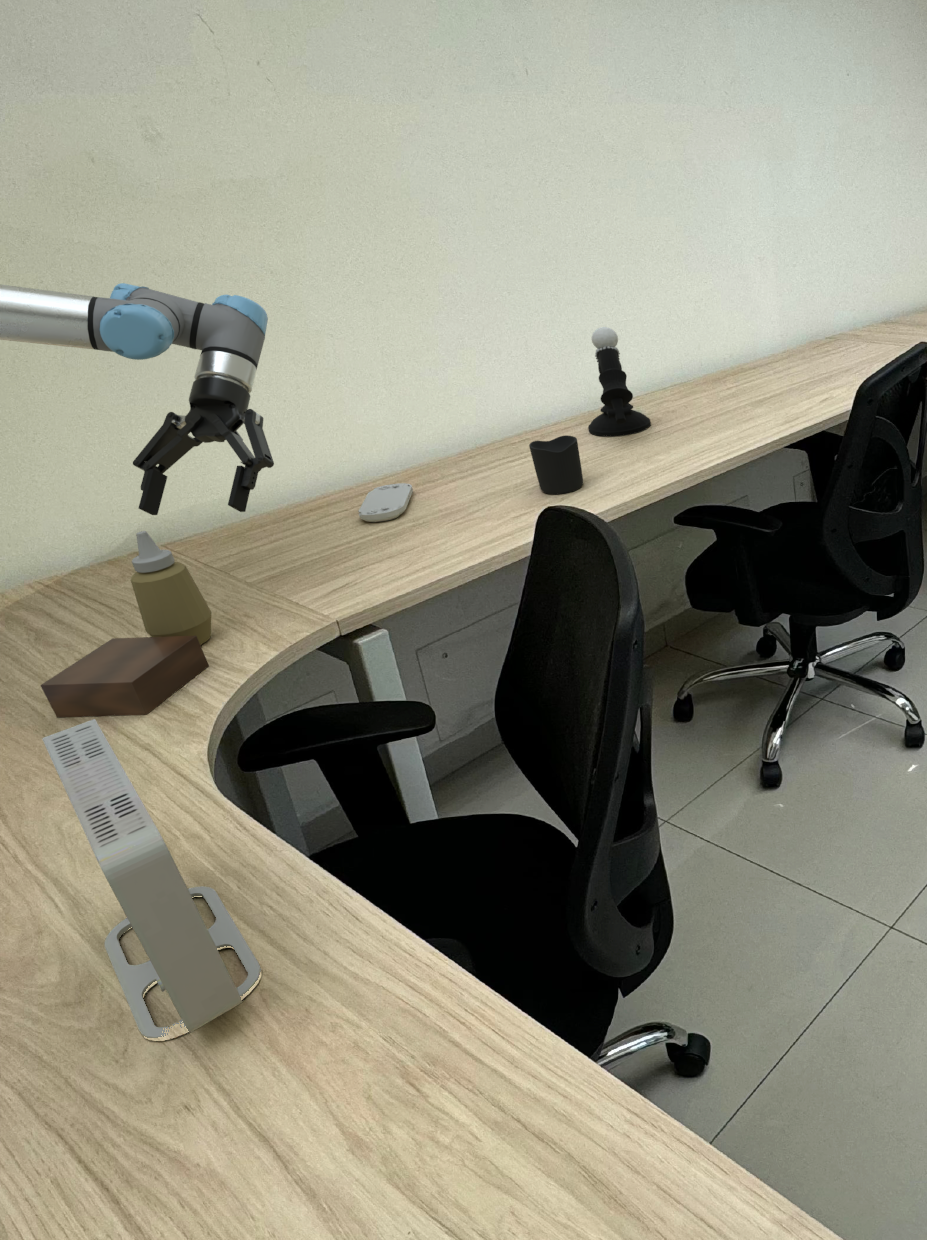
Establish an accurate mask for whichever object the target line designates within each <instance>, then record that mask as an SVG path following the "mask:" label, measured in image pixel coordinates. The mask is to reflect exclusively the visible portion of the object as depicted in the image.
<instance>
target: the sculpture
mask: <svg viewBox="0 0 927 1240" xmlns="http://www.w3.org/2000/svg"><path fill="white" fill-rule="evenodd" d="M618 342H619V337H618V334H617V332H616V331H615V330H614V329H613V328H610V327H607V326H601V327H598V328H596V329H595V330H594V331H593V332H592V334H591V343H592V344H593V347H595V348H596V349H595V353H594V357H595V359H596V362H597V366H598V373H599V376H598V382H599V383H600V385H601V387H602V393H601V396H600V402H601V404H603V406H602V407H601V408H600V412H601V413H600V414H598V415H597V416H596V417H595V418H593V420H591V422H590V423H589V424H588V427H587V428H588V433H589V434H590V435H592V436H596V437H621V436H629V435H633V434H636V433H640V432H643V431H645V430H648V428H650V427H651V426H652V423H651V419H650V417H648V416H646V415H645V414H644V413H642V412H640V411H637V410H635V409H633V408H634V405H632V404H631V401H632V400H633V398H634V395H633V393H632V391H631V390H630V389H628V386H627V378H628V377H627V373H626V371H624V370H623V367H622V364H621V361H620V360H621V359H620V355H621V353H620V350H619V349H618V347H617V345H618Z"/></svg>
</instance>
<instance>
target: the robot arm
mask: <svg viewBox="0 0 927 1240" xmlns="http://www.w3.org/2000/svg"><path fill="white" fill-rule="evenodd" d="M268 320H269V317H268V313H267V311H266V310H265V308H264V307H263V306H261V305H260V304H259V303H257V302H256V301H254V300H252V299H250V298H248V297H244V296H242V295H238V294H233V295H230V294H221V295H219V296H217V297H216V298H215V300H214V301H213V302H212V304H210V303H207V302H205V303H204V302H199V301H196V300H192V299H188V298H185V297H180V296H177V295H174V294H169V293H166V292H163V291H159V290H155V289H152V288H149V287H148V286H143V285H142V286H139V285H134V284H129V283H124V282H123V283H117V284H116V285H115V286H114V287H113V290H112V291H111V293H110V295H109V297H99V296H94V295H86V294H78V293H72V292H71V293H70V292H64V291H57V290H55V291H54V290H48V289H47V290H46V289H39V288H31V287H25V286H24V287H23V286H16V285H9V284H8V285H7V284H2V283H0V341H9V342H17V343H18V342H19V343H28V344H38V345H49V346H56V347H57V346H58V347H67V348H68V347H69V348H77V349H85V350H86V349H87V350H94V351H103V352H109V353H110V352H112V353H115V354H117V355H118V356H121V357H123V358H126V359H130V360H134V361H135V360H137V361H138V360H139V361H140V360H141V361H142V360H148V359H152V358H156V357H158V356H161V355H162V354H163V353H166V351H167V350H169V349H170V347H171V346H172V345H175V346H180V347H185V348H189V349H192V350H198V351H200V355H199V359H198V364H197V367H196V369H195V373H194V376H193V377H194V381H193V382H192V385H191V389H190V393H189V397H188V403H189V408H190V409H189V411H188V413H186V415H182V414H180V415H179V414H177V413H175V412H173V411H169V412H167V414H166V416H165V418H164V421H163V424H162V425H161V426H160V427H159V429H158V430H157V431H156V432H155V434H154V435H153V436H152V437H151V439H150V440H148V442H147V443H146V445H145V446H144V447H143V449H142V450H141V451H140V452H139V454H137V456H135V458H134V460H133V461H132V465H133V466H134V467H136V468H138V469H139V470H142V471H143V472H144V473H143V476H142V479H141V484H140V491H142V493H141V496H140V501H139V504H138V509H139V510H140V511H143V512H145V513H147V514H148V515H151V516H158V515H159V511H160V506H161V502H162V499H163V495H164V492H165V489H166V488H165V487H166V484H167V480H168V476H167V475H165V472H167V471H168V470H169V469H171V467H172V466H173V465H175V464H176V463H177V462H178V461H179V460H180V459H182V458H183V457H184V456H185V455H186V454H187V453H188V452H190V451H191V450H192V449H193V448H195V447H199V446H201V445H202V444H203V443H204V444H207V443H209V444H210V443H213V442H217V443H225V441H226V442H227V444H228V445H229V446H230V448H231V449H232V451H234V453H235V455H236V456H237V457H238V459H239V460H240V464H242V465H236V467H235V468H236V469H235V473H234V476H233V481H232V486H231V490H230V494H229V497H228V502H227V506H229V507H231V508H233V509H234V510H236V511H237V512H240V513H245V512H246V510H247V506H248V501H249V497H250V492H251V490H252V491H254V489H255V488H256V485H257V479H258V475H259V473H260V472H261V471H262V469H265V468H268V469H271V468H273V467H274V465H275V462H274V459H273V456H272V453H271V449H270V447H269V446H270V445H269V444H268V441H267V438H266V435H265V432H264V429H263V427H264V417H263V416H262V415H261V414H260V413H258V412H256V411H255V410H254V409H252V408H249V405H250V400H251V393H252V391H253V388H254V387H253V386H254V382H255V379H256V373H257V371H258V366H259V362H260V359H261V355H262V351H263V348H264V343H265V339H266V334H267V328H268V327H267V326H268ZM243 425H244V428H245V431H246V433H247V437H248V440H249V443H250V445H251V449H252V451H251V450H250V449H249V448H248V446H247V444H246V443H245V442H244V439H243V437H242V436H241V434H240V433H239V432H238V430H239V429H240V428H241V427H242V426H243ZM190 433H191V435H192V436H191V435H189V434H190ZM243 465H244V466H243Z"/></svg>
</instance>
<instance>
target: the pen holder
mask: <svg viewBox="0 0 927 1240" xmlns="http://www.w3.org/2000/svg"><path fill="white" fill-rule="evenodd" d="M528 447H529V451H530V454H531V459H532V463H533V467H534V470H535V474H536V478H537V481H538V486H539V489H540V491H541V492H542V493H544V494H547V495H563V494H568V493H569V494H570V493H573V492H575V491H578V490H579V489H581V488H582V487H583V485H584V477H583V470H582V469H583V468H582V462H581V456H580V450H579V442H578V438H577V437H576V436H573V435H559V436H557V437H555V438H553V439H550V440H533V441H531V442H530V443H529V445H528Z"/></svg>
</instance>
